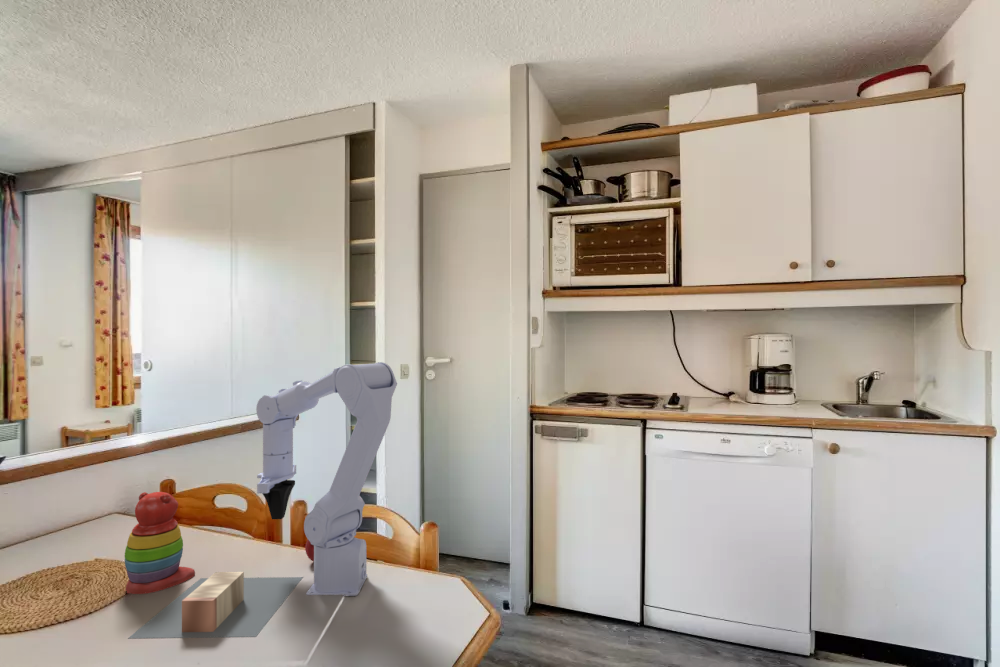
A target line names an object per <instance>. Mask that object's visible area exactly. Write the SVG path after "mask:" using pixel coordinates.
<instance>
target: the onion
mask: <svg viewBox="0 0 1000 667" xmlns="http://www.w3.org/2000/svg"><path fill="white" fill-rule="evenodd" d="M304 546H305V548H304V551H305V554H306V555H307V558H308V559H309V560H310V561H312V562H313V563H314V545H312V544H311V542H310V541H309V540H308V539H307V540H306V543H305V545H304Z"/></svg>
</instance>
